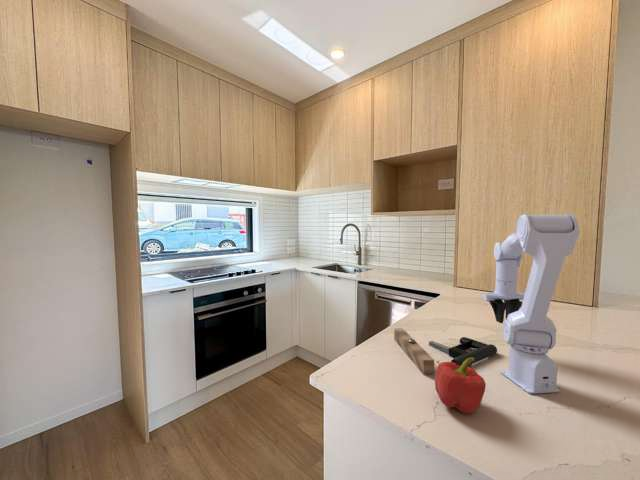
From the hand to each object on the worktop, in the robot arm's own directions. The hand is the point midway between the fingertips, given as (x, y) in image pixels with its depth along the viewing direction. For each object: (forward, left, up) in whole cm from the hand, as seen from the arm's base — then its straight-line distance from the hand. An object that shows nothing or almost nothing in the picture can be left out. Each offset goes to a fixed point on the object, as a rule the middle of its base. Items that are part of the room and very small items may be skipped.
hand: (504, 321), depth 86 cm
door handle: (0, +15, -10) cm, 18 cm away
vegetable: (-23, +30, -10) cm, 39 cm away
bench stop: (0, +31, -9) cm, 32 cm away
